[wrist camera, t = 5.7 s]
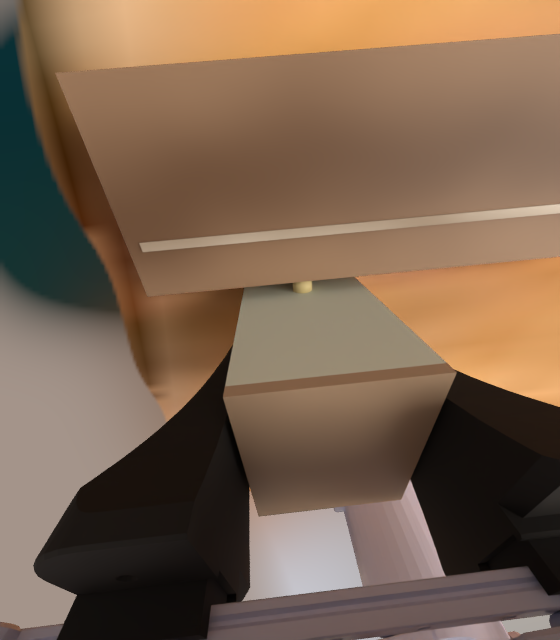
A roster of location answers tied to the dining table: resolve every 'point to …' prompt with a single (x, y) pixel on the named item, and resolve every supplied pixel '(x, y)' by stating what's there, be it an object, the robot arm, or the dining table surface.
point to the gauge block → (329, 396)
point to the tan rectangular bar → (328, 161)
